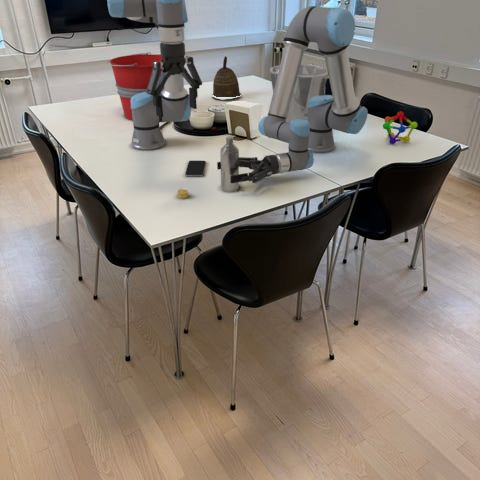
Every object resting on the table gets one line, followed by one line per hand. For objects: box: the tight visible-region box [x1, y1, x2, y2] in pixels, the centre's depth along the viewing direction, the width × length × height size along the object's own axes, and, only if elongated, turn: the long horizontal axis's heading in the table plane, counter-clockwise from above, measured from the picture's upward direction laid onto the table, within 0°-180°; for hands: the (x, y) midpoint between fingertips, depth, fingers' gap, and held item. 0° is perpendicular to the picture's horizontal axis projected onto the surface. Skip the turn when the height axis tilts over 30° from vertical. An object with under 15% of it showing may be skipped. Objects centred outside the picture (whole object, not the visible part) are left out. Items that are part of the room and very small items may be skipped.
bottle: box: [219, 135, 240, 193], centre depth 162 cm, size 7×7×20 cm
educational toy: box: [382, 110, 418, 145], centre depth 207 cm, size 16×13×15 cm
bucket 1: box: [106, 51, 164, 121], centre depth 240 cm, size 35×35×30 cm
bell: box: [212, 56, 242, 97], centre depth 278 cm, size 19×26×20 cm
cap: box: [177, 188, 189, 199], centre depth 161 cm, size 4×4×2 cm
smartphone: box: [184, 160, 207, 177], centre depth 182 cm, size 7×1×15 cm
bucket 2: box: [269, 63, 329, 123], centre depth 226 cm, size 30×30×28 cm
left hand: (177, 112), depth 145 cm, fingers open, 13 cm apart
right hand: (223, 172), depth 163 cm, fingers open, 13 cm apart
